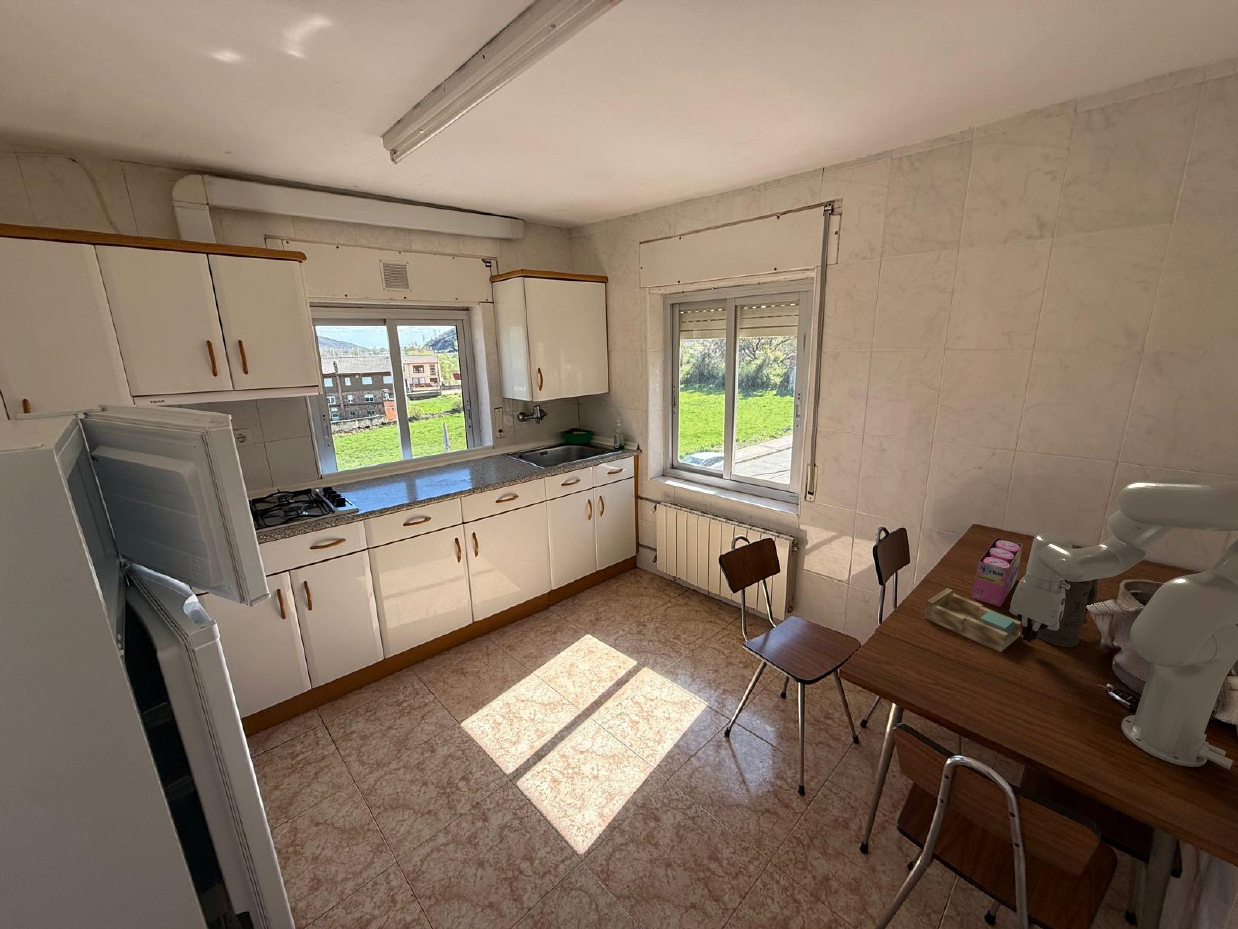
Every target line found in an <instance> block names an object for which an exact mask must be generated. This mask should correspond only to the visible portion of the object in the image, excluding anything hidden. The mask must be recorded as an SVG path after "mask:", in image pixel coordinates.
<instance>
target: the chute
mask: <svg viewBox="0 0 1238 929" xmlns="http://www.w3.org/2000/svg"><path fill="white" fill-rule="evenodd" d="M989 611H993V612H995V613H998V614H1000V615H1003V616H1005V617H1008V618H1010V619H1013V620H1015V621H1014V626H1013V631H1012V635H1011V636H1010V637H1009V638H1007V637H1008V633H1006V632H1004V631H1002V630H999V629H997V628H995V627H992V626H990V625H987V624H985V623H983V622H980V618H981V617H982V616H984V615H985V614H986V613H987V612H989ZM924 619H926V620H928V621H931V622H933V623H935V624H937V625H939V626H942V627H943V628H946V629H948V630H951V631H952V632H955V633H957V634H959V635H962V636H964V637H966V638H968V639H970V640H972V641H975V642H977V643H979V644H982V645H983V646H985V647H988V648H990V649H993V650H995V651H997V652H999V653H1003V651H1004V650H1006V649H1007V647H1008V648H1009V646H1010V645H1012V644H1013V643H1014V642H1015V641H1016V640H1017V639H1018V638H1019V637H1020V636H1021V631H1020V629H1021V625H1022V622H1021V621H1020V620H1018V619H1014V618H1012V617H1010V616H1007V615H1005V614H1002V613H999V612H997V611H995V610H992V609H989V608H988V607H984V605H983V604H981V603H979V602H976V601H974V600H971V599H969V598H966V597H964V596H961V595H958V594H956V593H953V589H951V588H948V587H946V588H945V589H943V590H942V591H940V592H938V593H937V594H935V595H934V596H932V597H931V598H930V599H928V600H926V606H925V611H924Z"/></svg>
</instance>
